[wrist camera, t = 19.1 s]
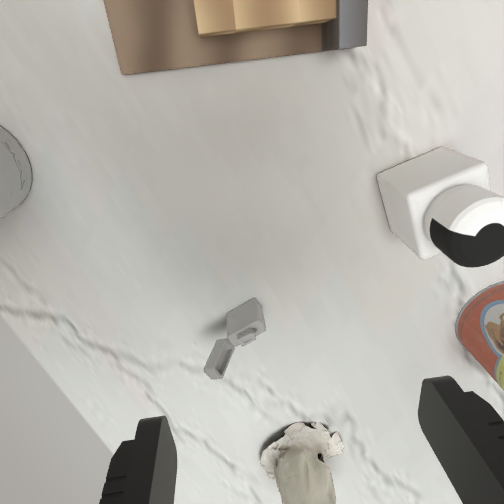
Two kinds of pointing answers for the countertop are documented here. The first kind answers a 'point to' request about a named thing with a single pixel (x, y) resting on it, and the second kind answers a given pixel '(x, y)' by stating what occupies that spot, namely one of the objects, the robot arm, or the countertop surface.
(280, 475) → the mushroom
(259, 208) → the countertop surface
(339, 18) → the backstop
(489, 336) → the canned food
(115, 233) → the countertop surface
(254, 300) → the lighter
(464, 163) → the medicine bottle
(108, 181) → the countertop surface
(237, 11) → the socket block
